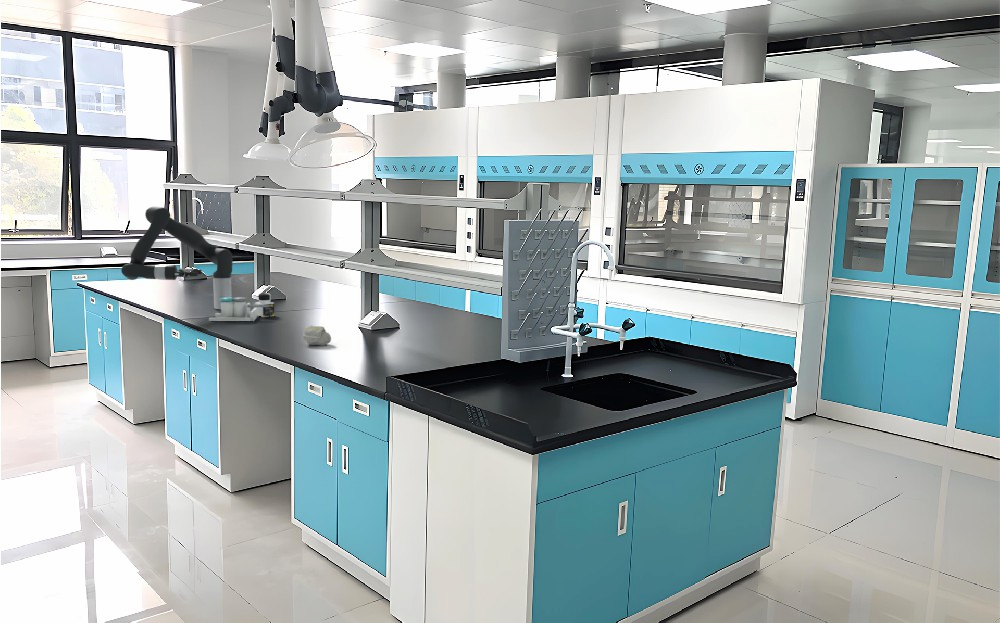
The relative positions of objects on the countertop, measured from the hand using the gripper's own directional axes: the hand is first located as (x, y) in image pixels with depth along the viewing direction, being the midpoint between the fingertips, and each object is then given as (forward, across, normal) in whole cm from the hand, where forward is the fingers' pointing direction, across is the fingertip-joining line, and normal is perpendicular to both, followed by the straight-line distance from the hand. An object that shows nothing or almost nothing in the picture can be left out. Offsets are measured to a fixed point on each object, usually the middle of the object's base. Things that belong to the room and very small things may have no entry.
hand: (199, 273), depth 385 cm
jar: (+13, 0, +24) cm, 27 cm away
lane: (+16, 0, +24) cm, 29 cm away
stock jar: (+19, 0, +24) cm, 30 cm away
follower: (+28, 0, +23) cm, 37 cm away
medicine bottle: (+30, +10, +24) cm, 40 cm away
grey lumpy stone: (+63, -64, +24) cm, 92 cm away
